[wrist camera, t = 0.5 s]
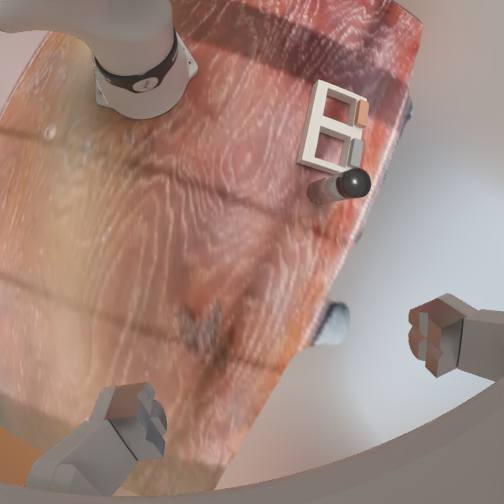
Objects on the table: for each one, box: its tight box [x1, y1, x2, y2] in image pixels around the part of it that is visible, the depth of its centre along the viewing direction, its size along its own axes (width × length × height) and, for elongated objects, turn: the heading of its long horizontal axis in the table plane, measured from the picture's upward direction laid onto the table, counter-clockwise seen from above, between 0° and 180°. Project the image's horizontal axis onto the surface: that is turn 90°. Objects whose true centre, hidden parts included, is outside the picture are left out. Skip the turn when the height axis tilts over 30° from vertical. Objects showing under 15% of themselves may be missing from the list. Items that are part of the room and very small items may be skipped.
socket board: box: [296, 80, 369, 175], centre depth 53 cm, size 10×16×4 cm, turn 166°
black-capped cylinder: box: [307, 168, 371, 204], centre depth 48 cm, size 4×4×15 cm
